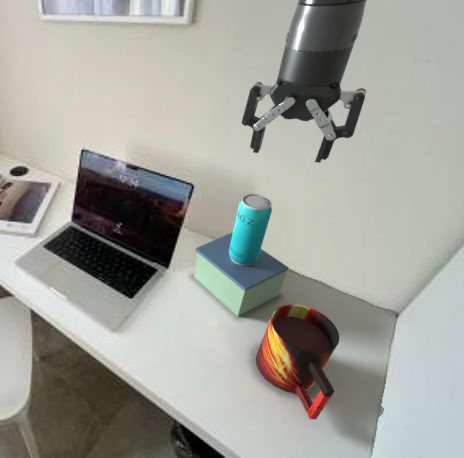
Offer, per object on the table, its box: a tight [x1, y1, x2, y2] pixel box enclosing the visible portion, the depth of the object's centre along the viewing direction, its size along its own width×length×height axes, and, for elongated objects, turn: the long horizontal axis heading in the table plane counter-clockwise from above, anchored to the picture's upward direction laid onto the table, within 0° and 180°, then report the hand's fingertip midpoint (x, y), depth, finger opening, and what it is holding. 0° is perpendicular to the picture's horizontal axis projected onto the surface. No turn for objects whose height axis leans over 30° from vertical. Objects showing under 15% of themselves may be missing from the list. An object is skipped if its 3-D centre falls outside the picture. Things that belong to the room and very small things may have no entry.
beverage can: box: [229, 193, 273, 266], centre depth 72 cm, size 6×6×15 cm
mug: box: [255, 303, 340, 420], centre depth 61 cm, size 10×14×12 cm
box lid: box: [195, 231, 289, 291], centre depth 78 cm, size 14×12×1 cm
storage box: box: [193, 252, 288, 317], centre depth 80 cm, size 14×12×8 cm
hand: (286, 155), depth 56 cm, fingers open, 8 cm apart
